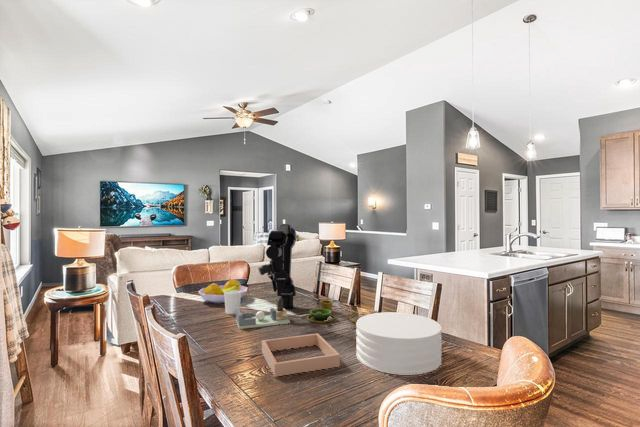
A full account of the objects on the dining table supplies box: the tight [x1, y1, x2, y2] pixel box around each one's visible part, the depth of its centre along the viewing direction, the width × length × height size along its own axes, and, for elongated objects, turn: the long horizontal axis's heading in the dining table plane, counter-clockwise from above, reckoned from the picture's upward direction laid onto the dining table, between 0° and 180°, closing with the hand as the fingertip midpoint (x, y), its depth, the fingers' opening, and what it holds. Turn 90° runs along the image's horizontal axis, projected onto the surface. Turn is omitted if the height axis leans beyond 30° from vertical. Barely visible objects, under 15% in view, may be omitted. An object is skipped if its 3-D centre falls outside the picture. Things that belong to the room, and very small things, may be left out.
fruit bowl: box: [197, 278, 248, 304], centre depth 199 cm, size 28×27×11 cm
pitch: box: [235, 308, 291, 330], centre depth 160 cm, size 22×12×6 cm, turn 110°
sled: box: [269, 298, 288, 320], centre depth 162 cm, size 6×6×8 cm
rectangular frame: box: [261, 332, 341, 377], centre depth 120 cm, size 21×21×4 cm
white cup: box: [224, 290, 242, 315], centre depth 175 cm, size 8×8×10 cm
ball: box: [255, 310, 266, 320], centre depth 160 cm, size 4×4×4 cm
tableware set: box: [298, 299, 366, 328], centre depth 161 cm, size 41×28×6 cm
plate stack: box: [355, 311, 443, 375], centre depth 121 cm, size 28×28×12 cm
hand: (276, 292), depth 163 cm, fingers open, 9 cm apart
